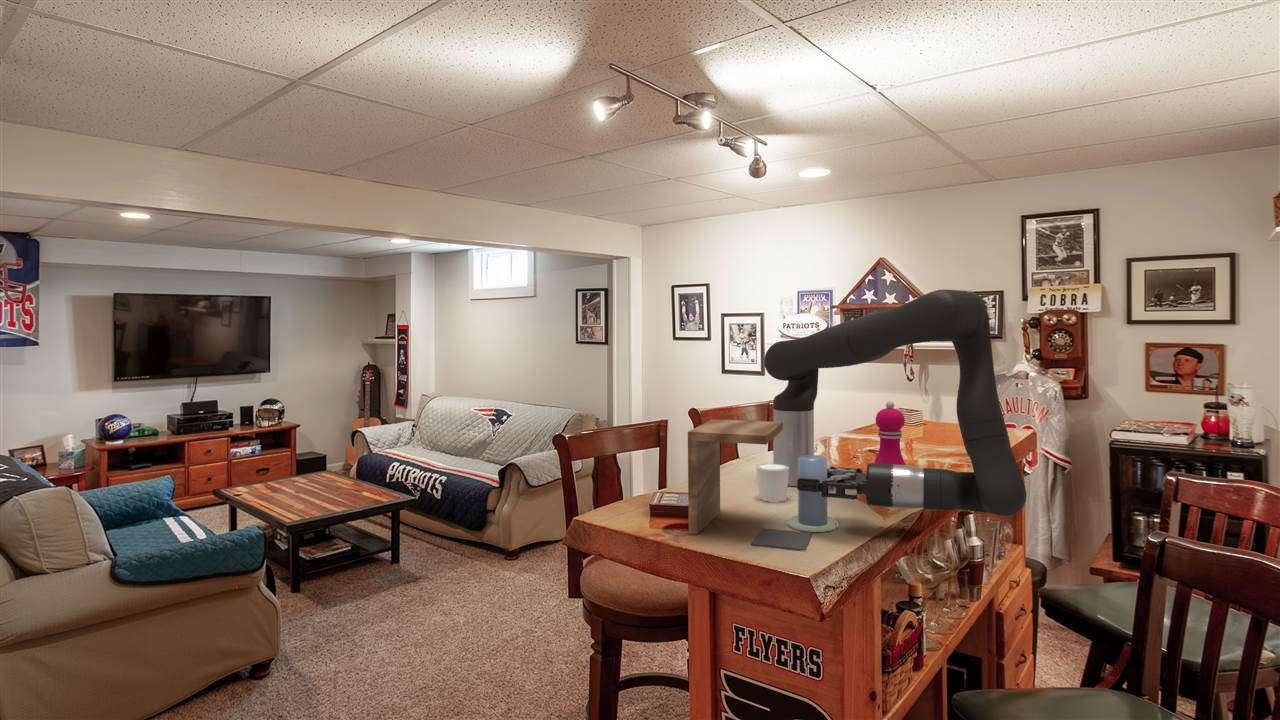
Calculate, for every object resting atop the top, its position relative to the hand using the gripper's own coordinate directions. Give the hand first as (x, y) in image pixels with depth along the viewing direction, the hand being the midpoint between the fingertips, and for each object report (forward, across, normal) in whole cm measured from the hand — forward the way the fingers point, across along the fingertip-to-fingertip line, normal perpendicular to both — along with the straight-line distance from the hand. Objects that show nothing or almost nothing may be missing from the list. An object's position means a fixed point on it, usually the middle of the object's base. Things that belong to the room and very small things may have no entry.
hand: (801, 479), depth 124 cm
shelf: (+11, +5, +8) cm, 15 cm away
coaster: (-2, 0, +8) cm, 9 cm away
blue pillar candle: (-2, 0, +8) cm, 8 cm away
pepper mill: (-15, -30, +9) cm, 35 cm away
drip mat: (+2, +10, +8) cm, 13 cm away
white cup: (+8, -16, +9) cm, 20 cm away
